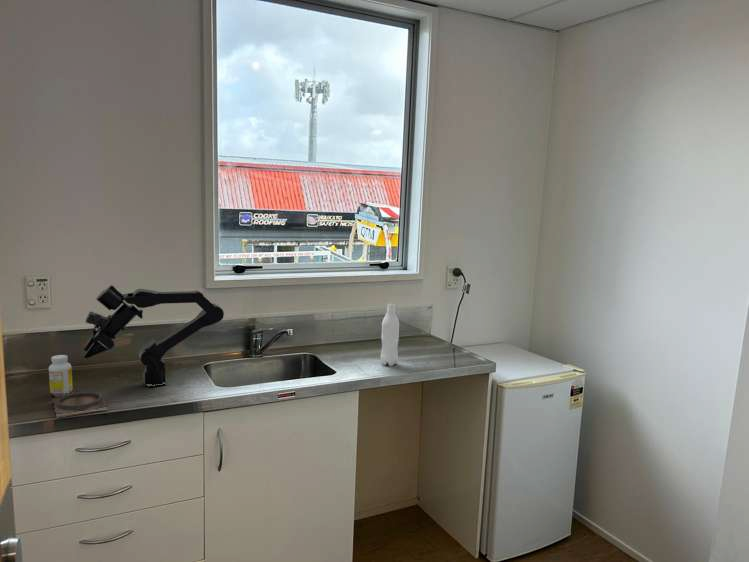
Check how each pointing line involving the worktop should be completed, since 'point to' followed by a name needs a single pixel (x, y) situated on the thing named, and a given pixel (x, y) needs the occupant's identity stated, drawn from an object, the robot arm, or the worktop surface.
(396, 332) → the water bottle
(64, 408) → the locating board
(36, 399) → the worktop surface
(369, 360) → the worktop surface
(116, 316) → the robot arm
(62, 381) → the supplement bottle
